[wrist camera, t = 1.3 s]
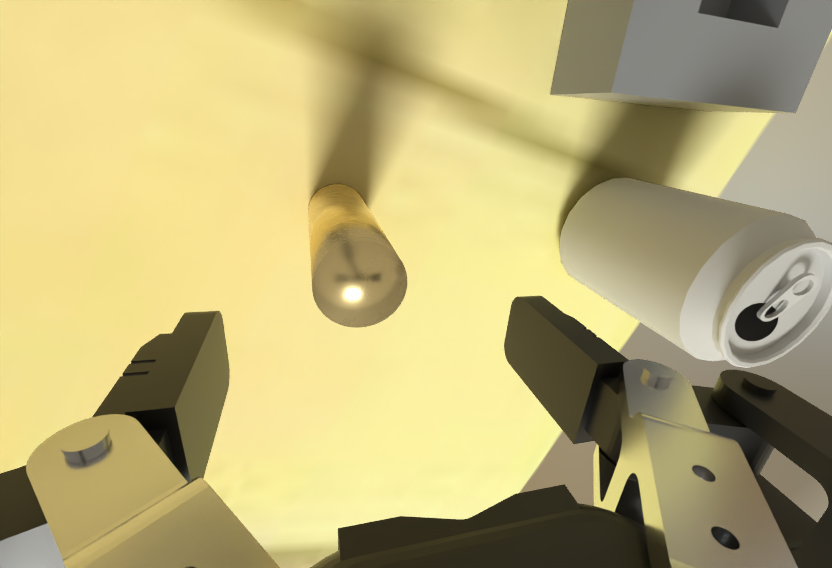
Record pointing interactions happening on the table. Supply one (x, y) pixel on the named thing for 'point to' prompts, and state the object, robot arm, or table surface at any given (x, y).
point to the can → (700, 268)
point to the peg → (352, 260)
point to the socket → (692, 52)
